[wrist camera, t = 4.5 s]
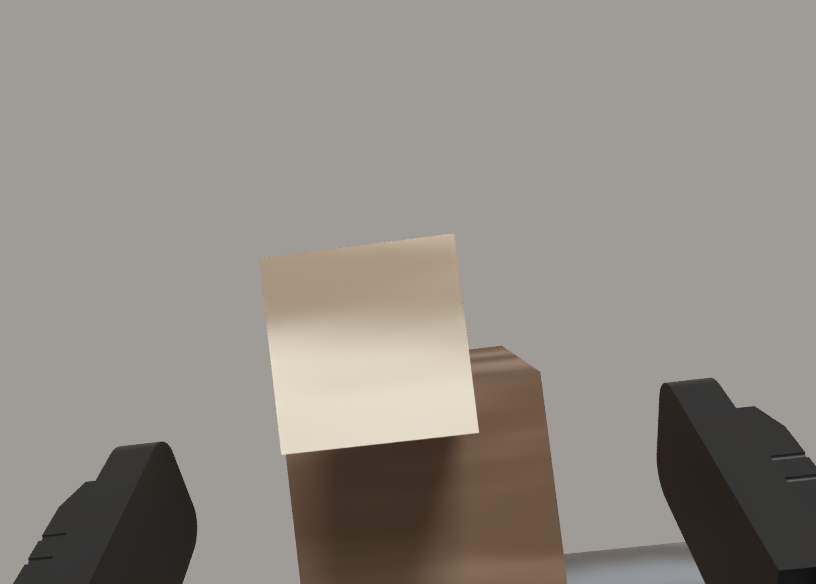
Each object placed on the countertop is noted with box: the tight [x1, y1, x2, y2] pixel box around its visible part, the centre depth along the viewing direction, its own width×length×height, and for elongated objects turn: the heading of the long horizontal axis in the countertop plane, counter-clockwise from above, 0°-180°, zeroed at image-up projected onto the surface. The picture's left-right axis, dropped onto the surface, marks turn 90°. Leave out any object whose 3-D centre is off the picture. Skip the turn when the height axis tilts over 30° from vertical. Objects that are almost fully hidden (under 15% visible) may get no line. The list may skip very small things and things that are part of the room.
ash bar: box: [259, 234, 479, 455], centre depth 24 cm, size 24×4×4 cm, turn 177°
